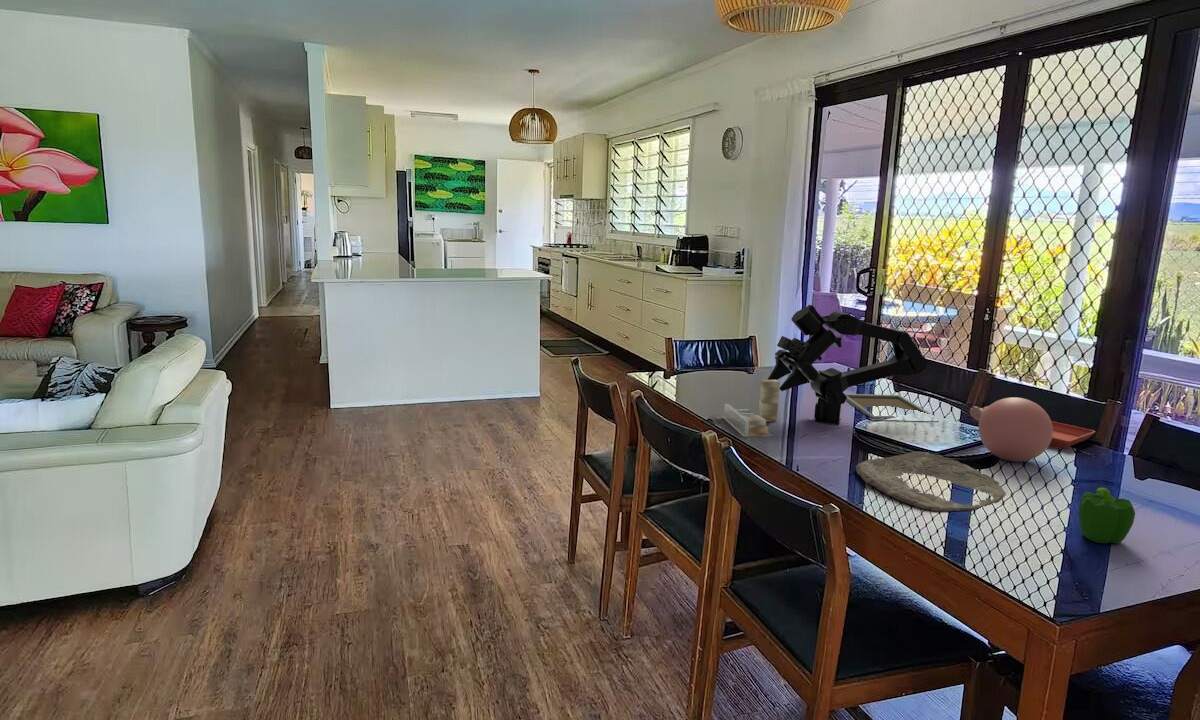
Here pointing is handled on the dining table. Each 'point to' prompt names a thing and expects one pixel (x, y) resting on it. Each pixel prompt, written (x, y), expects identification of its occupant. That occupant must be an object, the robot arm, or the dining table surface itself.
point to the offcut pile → (756, 424)
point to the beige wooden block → (769, 399)
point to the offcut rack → (739, 420)
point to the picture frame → (880, 402)
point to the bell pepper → (1105, 517)
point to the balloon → (1014, 428)
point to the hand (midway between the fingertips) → (774, 386)
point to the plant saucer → (1068, 435)
